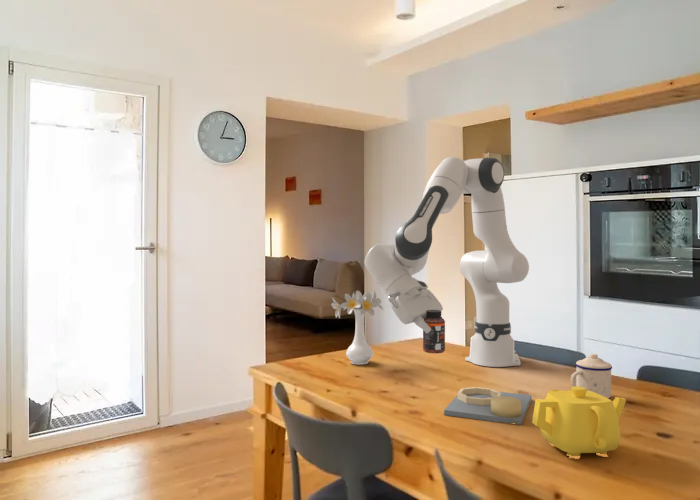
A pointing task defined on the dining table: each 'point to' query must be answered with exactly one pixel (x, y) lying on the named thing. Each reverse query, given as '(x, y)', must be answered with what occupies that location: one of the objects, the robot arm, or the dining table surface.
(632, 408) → the dining table surface
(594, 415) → the teapot
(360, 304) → the flower vase
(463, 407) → the carrier plate
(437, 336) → the supplement bottle
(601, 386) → the teacup with lid
